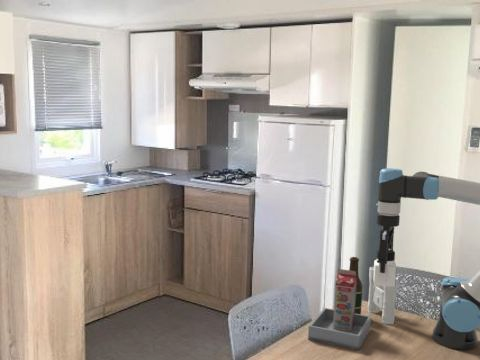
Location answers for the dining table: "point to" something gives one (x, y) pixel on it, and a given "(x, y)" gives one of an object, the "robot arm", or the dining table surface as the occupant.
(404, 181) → the robot arm
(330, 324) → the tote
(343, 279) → the juice carton
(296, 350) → the dining table surface
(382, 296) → the binoculars
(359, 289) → the beer bottle
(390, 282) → the medicine bottle
